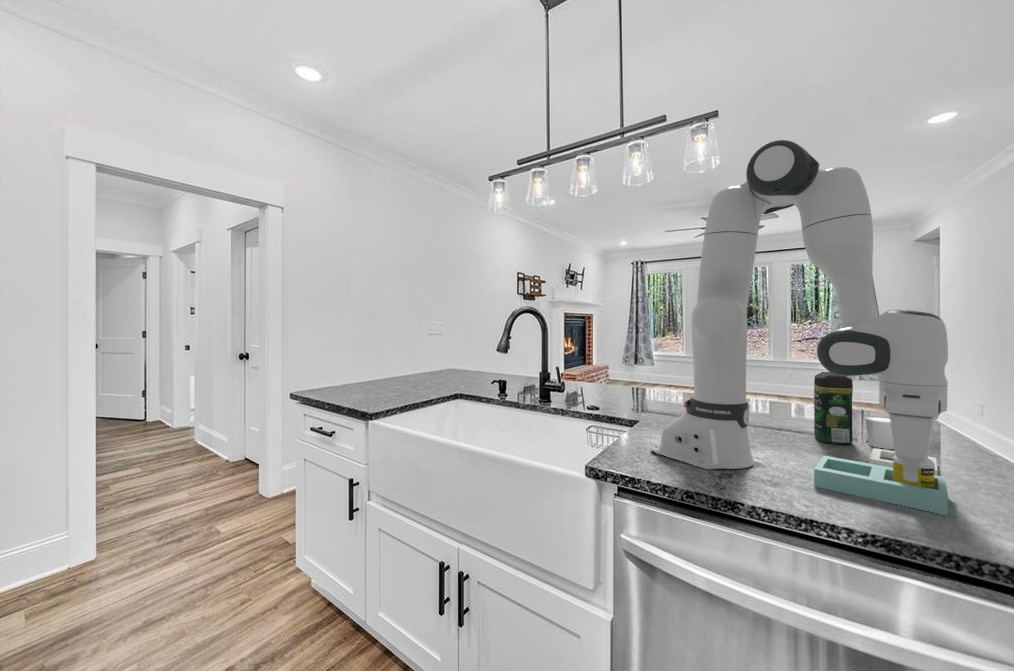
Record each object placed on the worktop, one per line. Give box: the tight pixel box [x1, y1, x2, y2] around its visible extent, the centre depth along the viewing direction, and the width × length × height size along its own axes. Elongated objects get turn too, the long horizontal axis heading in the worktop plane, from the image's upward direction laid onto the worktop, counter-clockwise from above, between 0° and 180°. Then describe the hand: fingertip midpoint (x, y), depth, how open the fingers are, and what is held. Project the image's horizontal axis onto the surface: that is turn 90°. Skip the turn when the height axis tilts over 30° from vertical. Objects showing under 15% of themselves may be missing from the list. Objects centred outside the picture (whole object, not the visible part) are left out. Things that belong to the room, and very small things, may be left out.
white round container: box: [865, 416, 894, 450], centre depth 105 cm, size 7×7×7 cm
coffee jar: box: [813, 371, 854, 446], centre depth 110 cm, size 10×8×19 cm
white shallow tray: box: [868, 447, 938, 476], centre depth 92 cm, size 10×10×2 cm
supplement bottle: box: [892, 447, 935, 489], centre depth 75 cm, size 5×5×10 cm
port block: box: [813, 455, 949, 517], centre depth 78 cm, size 18×11×4 cm, turn 45°
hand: (910, 473), depth 75 cm, fingers open, 8 cm apart
